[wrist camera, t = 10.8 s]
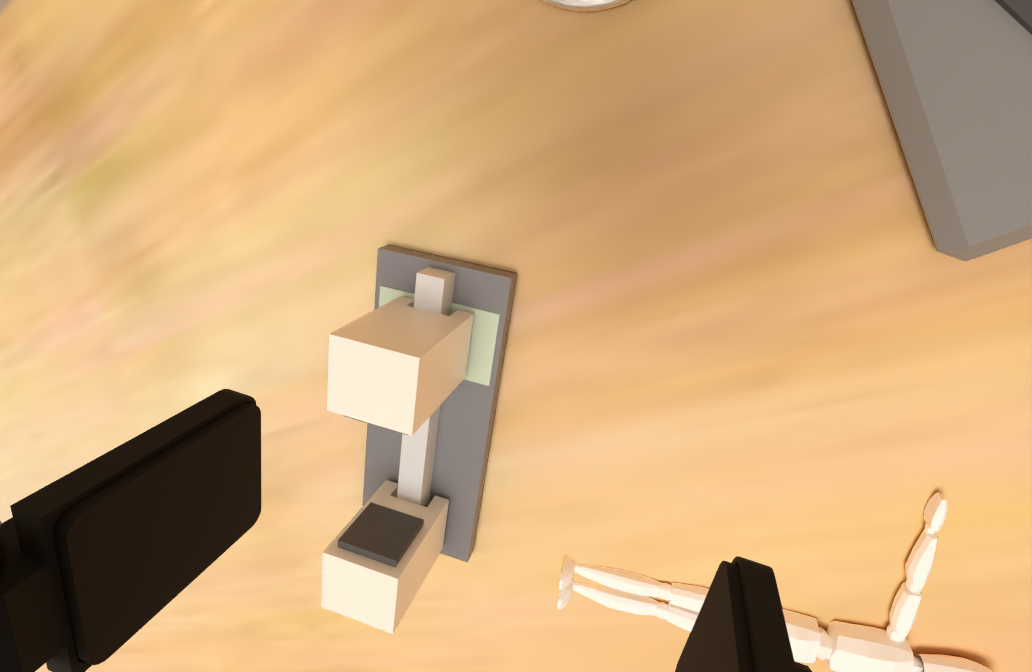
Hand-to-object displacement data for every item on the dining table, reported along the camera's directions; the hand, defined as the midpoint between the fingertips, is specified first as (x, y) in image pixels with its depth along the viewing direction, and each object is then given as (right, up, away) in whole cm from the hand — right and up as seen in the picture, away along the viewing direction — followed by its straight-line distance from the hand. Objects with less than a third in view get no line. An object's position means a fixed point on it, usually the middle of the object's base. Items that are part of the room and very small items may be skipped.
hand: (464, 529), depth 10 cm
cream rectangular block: (-5, +4, +29) cm, 29 cm away
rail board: (-6, -2, +33) cm, 33 cm away
